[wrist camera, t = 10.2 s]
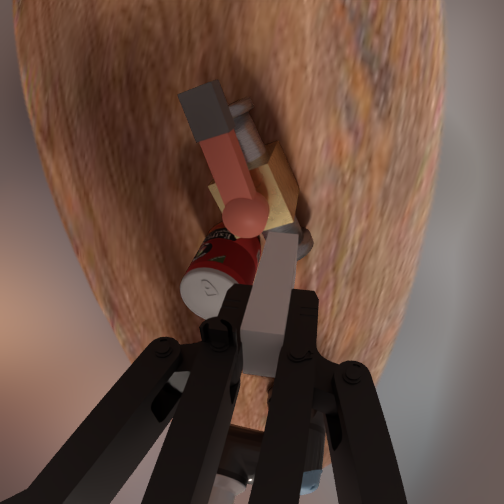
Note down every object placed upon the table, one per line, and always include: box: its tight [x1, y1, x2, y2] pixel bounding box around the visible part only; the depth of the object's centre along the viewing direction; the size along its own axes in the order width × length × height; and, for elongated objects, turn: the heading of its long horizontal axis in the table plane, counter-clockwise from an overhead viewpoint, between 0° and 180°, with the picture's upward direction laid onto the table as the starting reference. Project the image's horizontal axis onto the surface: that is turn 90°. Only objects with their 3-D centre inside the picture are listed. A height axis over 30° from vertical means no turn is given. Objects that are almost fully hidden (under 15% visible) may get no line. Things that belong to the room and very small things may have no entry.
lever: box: [178, 80, 270, 238], centre depth 26 cm, size 14×4×2 cm, turn 19°
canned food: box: [180, 222, 261, 320], centre depth 40 cm, size 8×8×11 cm
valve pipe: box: [208, 97, 314, 261], centre depth 34 cm, size 18×6×9 cm, turn 25°
